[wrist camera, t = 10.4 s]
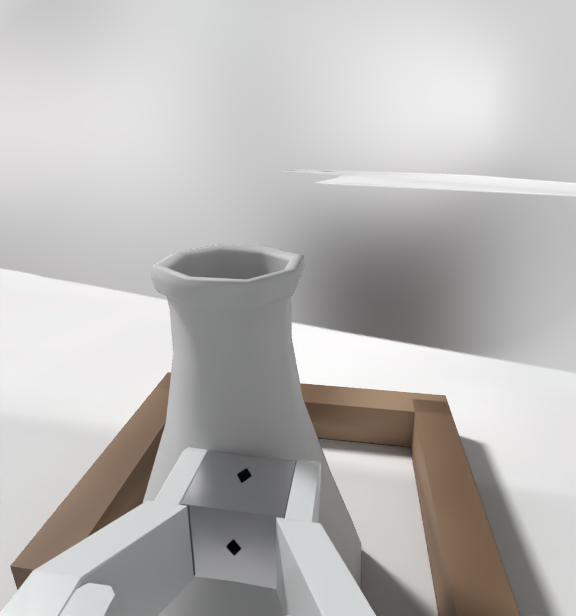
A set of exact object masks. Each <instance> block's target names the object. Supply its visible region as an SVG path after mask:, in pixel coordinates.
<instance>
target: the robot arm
mask: <svg viewBox="0 0 576 616" xmlns="http://www.w3.org/2000/svg"><path fill="white" fill-rule="evenodd" d="M320 481H321V463H320V462H315V461H304V460H289V459H279V458H270V457H260V456H252V455H245V454H237V453H230V452H223V451H216V450H205V449H198V448H191V447H188V448H186V449H185V450H184V451H183V452H182V454H181V455H180V457H179V459H178V461H177V462H176V464H175V466H174V468H173V469H172V471H171V473H170V474H169V476H168V478H167V480H166V481H165V483H164V485H163V487H162V488H161V490H160V492H159V493H158V495H157V497H156V499H155V500H154V501H146V502H144V503H143V504H141V505H139V506H138V507H136V508H134V509H133V510H131V511H129V512H128V513H126V514H125V515H123V516H121V517H120V518H118V519H116V520H115V521H113V522H112V523H110V524H108V525H107V526H105V527H103V528H102V529H100V530H99V531H97V532H95V533H94V534H92V535H90V536H89V537H87V538H85V539H84V540H82V541H81V542H79V543H77V544H76V545H74V546H72V547H71V548H69V549H68V550H66V551H64V552H63V553H61V554H59V555H58V556H56V557H55V558H53V559H51V560H50V561H48V562H46V563H45V564H43V565H42V566H40V567H38V568H37V569H35V570H33V571H32V572H31V574H30V575H29V576H28V578H27V579H26V580H25V582H24V583H23V584H22V586H21V587H20V588H19V589H18V591H17V592H16V593H15V595H14V596H13V597H12V599H11V600H10V601H9V602H8V604H7V605H6V606H5V608H4V609H3V610H2V612H1V613H0V616H158V615H159V614H160V613H161V612H162V611H163V610H164V609H165V608H166V607H167V606H168V605H169V604H170V603H171V602H172V601H173V600H174V599H175V598H176V597H177V596H178V595H179V594H180V593H181V592H182V591H183V590H184V589H185V588H186V587H187V586H188V585H189V584H190V583H191V582H192V581H193V580H194V576H195V577H203V578H211V579H219V580H227V581H235V582H240V583H246V584H251V585H257V586H262V587H267V588H273V589H276V591H277V594H278V597H279V600H280V603H281V606H282V609H283V612H284V614H285V616H376V615H375V613H374V611H373V610H372V608H371V606H370V605H369V603H368V601H367V600H366V598H365V596H364V595H363V593H362V591H361V590H360V588H359V586H358V585H357V583H356V581H355V580H354V578H353V576H352V575H351V573H350V571H349V570H348V568H347V566H346V565H345V563H344V561H343V560H342V558H341V556H340V555H339V553H338V551H337V550H336V548H335V546H334V545H333V543H332V541H331V540H330V538H329V536H328V535H327V533H326V531H325V530H324V528H323V526H322V525H321V524H320V523H318V519H319V502H320Z"/></svg>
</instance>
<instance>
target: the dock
mask: <svg viewBox="0 0 576 616" xmlns="http://www.w3.org/2000/svg"><path fill="white" fill-rule="evenodd" d="M170 380H171V373H167V374H166V375H165V377H164V378H163V379H162V380H161V382H160V383H159V384H158V385H157V387H156V388H155V389H154V390H153V391H152V393H151V394H150V395H149V396H148V398H147V399H146V400H145V401H144V403H143V404H142V405H141V406H140V407H139V409H138V410H137V411H136V412H135V414H134V415H133V416H132V417H131V418H130V420H129V421H128V422H127V423H126V425H125V426H124V427H123V428H122V430H121V431H120V432H119V433H118V434H117V436H116V437H115V438H114V439H113V441H112V442H111V443H110V444H109V446H108V447H107V448H106V449H105V450H104V452H103V453H102V454H101V455H100V457H99V458H98V459H97V460H96V461H95V463H94V464H93V465H92V466H91V468H90V469H89V470H88V471H87V473H86V474H85V475H84V476H83V477H82V479H81V480H80V481H79V482H78V484H77V485H76V486H75V487H74V488H73V490H72V491H71V492H70V493H69V495H68V496H67V497H66V498H65V500H64V501H63V502H62V503H61V504H60V506H59V507H58V508H57V509H56V511H55V512H54V513H53V514H52V516H51V517H50V518H49V519H48V520H47V522H46V523H45V524H44V525H43V527H42V528H41V529H40V530H39V531H38V533H37V534H36V535H35V536H34V538H33V539H32V540H31V541H30V543H29V544H28V545H27V546H26V547H25V549H24V550H23V551H22V552H21V554H20V555H19V556H18V557H17V559H16V560H15V561H14V562H13V563H12V565H11V566H10V567H11V570H12V573H13V577H14V580H15V583H16V586H17V590H18V589H19V588H20V587H21V586H22V584H23V583H24V582H25V580H26V579H27V578H28V576H29V575H30V574H31V572H32V571H33V570H35V569H37V568H38V567H40V566H42V565H43V564H45V563H46V562H48V561H50V560H51V559H53V558H55V557H56V556H58V555H59V554H61V553H63V552H64V551H66V550H68V549H69V548H71V547H72V546H74V545H76V544H77V543H79V542H81V541H82V540H84V539H85V538H87V537H89V536H90V535H92V534H94V533H95V532H97V531H99V530H100V529H102V528H103V527H105V526H107V525H108V524H110V523H112V522H113V521H115V520H116V519H118V518H120V517H121V516H123V515H125V514H126V513H128V512H129V511H131V510H133V509H134V508H136V507H138V506H139V505H141V504H143V500H144V497H145V493H146V490H147V486H148V483H149V479H150V476H151V472H152V469H153V465H154V462H155V458H156V455H157V451H158V448H159V445H160V441H161V438H162V434H163V431H164V427H165V424H166V416H167V407H168V398H169V389H170ZM300 386H301V391H302V397H303V400H304V403H305V406H306V408H307V411H308V414H309V416H310V419H311V422H312V424H313V427H314V429H315V432H316V435H317V437H318V438H326V439H336V440H346V441H356V442H366V443H376V444H386V445H396V446H406V447H410V449H411V455H412V461H413V466H414V472H415V478H416V484H417V490H418V496H419V502H420V508H421V514H422V520H423V526H424V532H425V538H426V544H427V549H428V555H429V561H430V567H431V573H432V579H433V585H434V591H435V597H436V603H437V609H438V615H439V616H520V614H519V611H518V608H517V605H516V602H515V599H514V596H513V593H512V590H511V588H510V585H509V582H508V579H507V576H506V573H505V570H504V567H503V564H502V561H501V558H500V555H499V552H498V549H497V546H496V543H495V540H494V537H493V534H492V532H491V529H490V526H489V523H488V520H487V517H486V514H485V511H484V508H483V505H482V502H481V499H480V496H479V493H478V490H477V487H476V484H475V481H474V479H473V476H472V473H471V470H470V467H469V464H468V461H467V458H466V455H465V452H464V449H463V446H462V443H461V440H460V437H459V434H458V431H457V428H456V425H455V423H454V420H453V417H452V414H451V411H450V408H449V405H448V402H447V399H446V396H444V395H432V394H420V393H408V392H396V391H384V390H372V389H360V388H348V387H336V386H324V385H312V384H300Z"/></svg>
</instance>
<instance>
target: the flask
mask: <svg viewBox="0 0 576 616" xmlns="http://www.w3.org/2000/svg"><path fill="white" fill-rule="evenodd" d="M304 265H305V263H304V255H300V254H296V253H292V252H288V251H284V250H280V249H276V248H272V247H268V246H252V245H227V244H217V245H212V246H207V247H202V248H196V249H191V250H185V251H180V252H175V253H173V254H171V255H169V256H168V257H167V258H165V259H163V260H161V261H160V262H158V263H156V264H155V265H153V266H151V279H152V281H153V284H154V287H155V289H156V290H157V291H158V292H159V293H161V294H164V295H166V296H167V300H168V304H169V308H170V317H171V330H172V342H173V361H172V371H171V380H170V389H169V398H168V407H167V416H166V424H165V427H164V431H163V434H162V438H161V441H160V445H159V448H158V451H157V455H156V458H155V462H154V465H153V469H152V472H151V476H150V479H149V483H148V486H147V490H146V493H145V497H144V500H143V503H144V502H146V501H154V500H155V499H156V497H157V495H158V493H159V492H160V490H161V488H162V487H163V485H164V483H165V481H166V480H167V478H168V476H169V474H170V473H171V471H172V469H173V468H174V466H175V464H176V462H177V461H178V459H179V457H180V455H181V454H182V452H183V451H184V450H185V449H186V448H188V447H191V448H198V449H205V450H216V451H223V452H230V453H237V454H245V455H252V456H260V457H270V458H279V459H289V460H304V461H315V462H320V463H321V481H320V502H319V519H318V523H320V524H321V525H322V526H323V528H324V530H325V531H326V533H327V535H328V536H329V538H330V540H331V541H332V543H333V545H334V546H335V548H336V550H337V551H338V553H339V555H340V556H341V558H342V560H343V561H344V563H345V565H346V566H347V568H348V570H349V571H350V573H351V575H352V576H353V578H354V580H355V581H356V583H357V585H358V586H359V588H360V590H361V542H360V540H359V537H358V535H357V532H356V529H355V527H354V524H353V522H352V520H351V517H350V515H349V513H348V510H347V508H346V506H345V504H344V501H343V499H342V497H341V494H340V492H339V490H338V488H337V485H336V483H335V481H334V478H333V476H332V474H331V472H330V469H329V466H328V464H327V461H326V459H325V456H324V453H323V451H322V448H321V445H320V443H319V440H318V437H317V435H316V432H315V429H314V427H313V424H312V422H311V419H310V416H309V414H308V411H307V408H306V406H305V403H304V400H303V397H302V391H301V386H300V381H299V375H298V370H297V365H296V359H295V354H294V349H293V343H292V334H291V296H292V295H293V294H294V292H295V290H296V288H297V286H298V283H299V281H300V278H301V276H302V273H303V269H304ZM158 616H285V614H284V612H283V609H282V606H281V603H280V600H279V597H278V594H277V591H276V589H273V588H267V587H262V586H257V585H251V584H246V583H240V582H235V581H227V580H219V579H211V578H203V577H195V576H194V580H193V581H192V582H191V583H190V584H189V585H188V586H187V587H186V588H185V589H184V590H183V591H182V592H181V593H180V594H179V595H178V596H177V597H176V598H175V599H174V600H173V601H172V602H171V603H170V604H169V605H168V606H167V607H166V608H165V609H164V610H163V611H162V612H161V613H160V614H159V615H158Z"/></svg>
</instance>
